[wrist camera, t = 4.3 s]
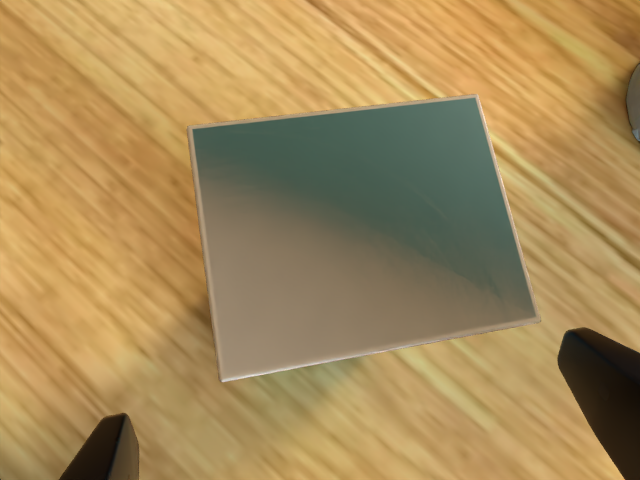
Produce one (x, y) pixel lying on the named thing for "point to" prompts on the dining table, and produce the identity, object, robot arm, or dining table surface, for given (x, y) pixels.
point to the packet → (354, 233)
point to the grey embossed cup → (634, 102)
